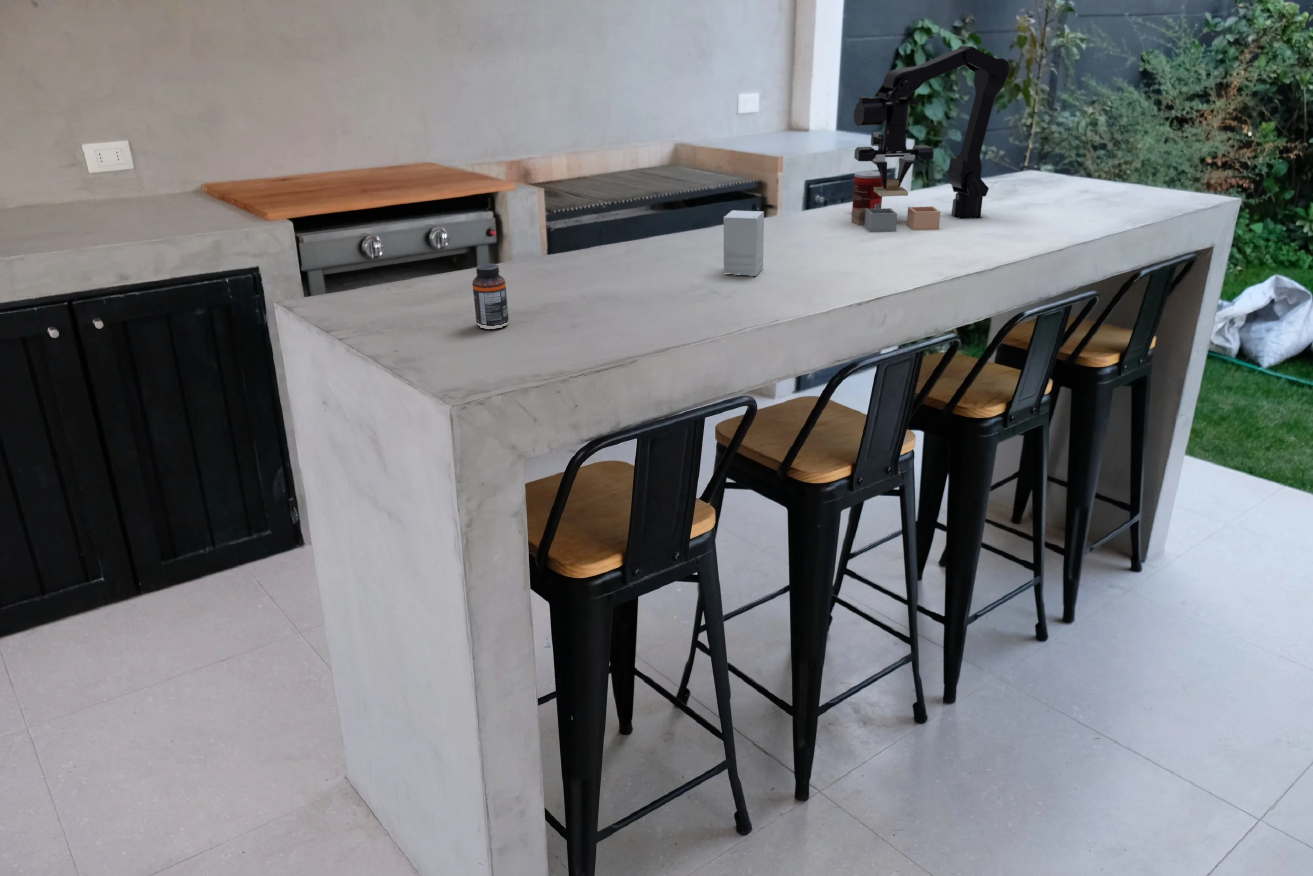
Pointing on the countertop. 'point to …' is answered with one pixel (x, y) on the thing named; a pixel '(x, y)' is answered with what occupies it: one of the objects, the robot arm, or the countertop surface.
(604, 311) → the countertop surface
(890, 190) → the lid
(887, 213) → the grey open square bin
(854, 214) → the walnut block
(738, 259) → the supplement box
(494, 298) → the supplement bottle
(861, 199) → the canned food
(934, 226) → the pot
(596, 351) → the countertop surface
